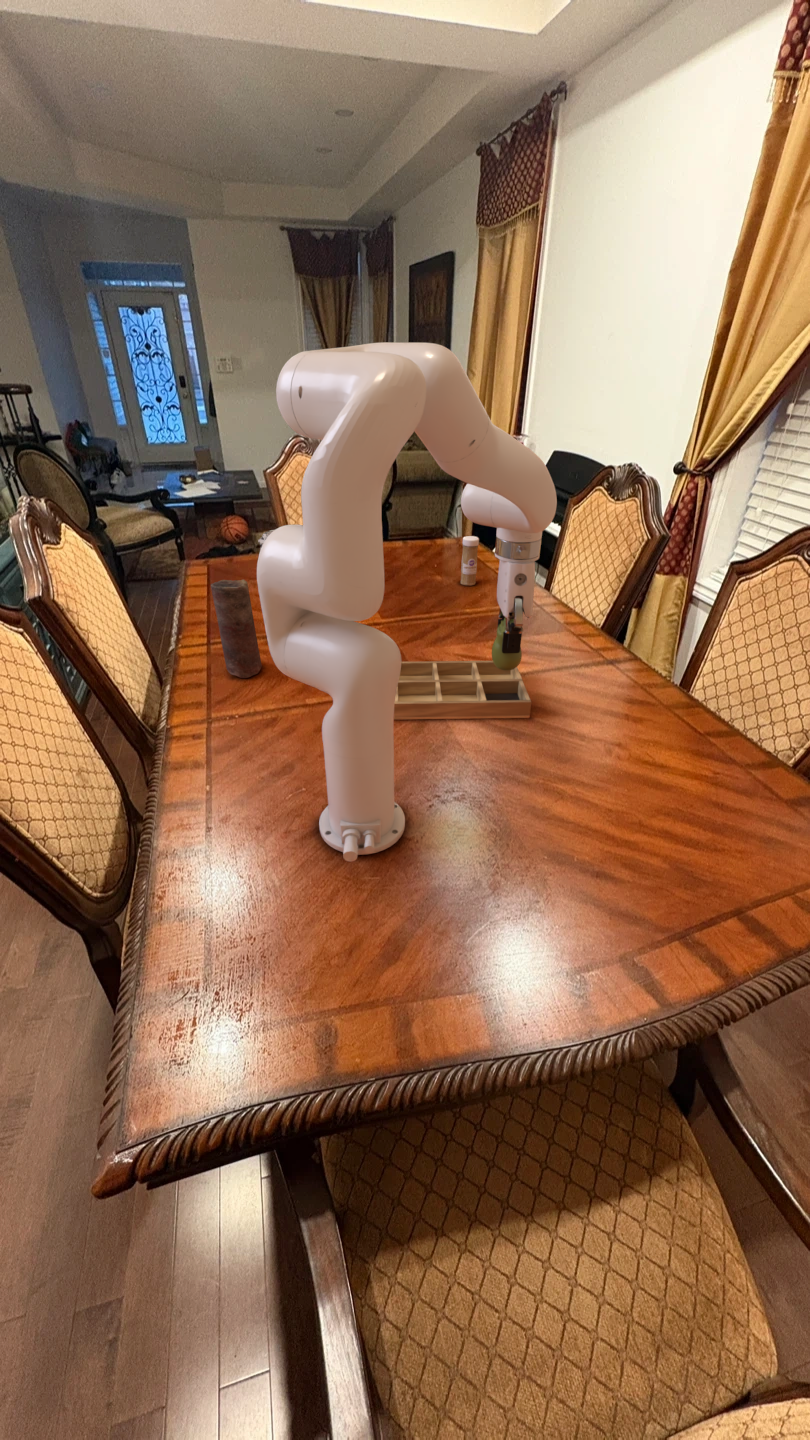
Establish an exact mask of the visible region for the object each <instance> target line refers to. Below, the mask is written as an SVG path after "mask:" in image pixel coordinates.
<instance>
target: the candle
mask: <svg viewBox="0 0 810 1440" xmlns="http://www.w3.org/2000/svg"><path fill="white" fill-rule="evenodd" d="M210 589H211V594H212V599H213V604H214V609H215V615H216V619H217V624H218V631H219V636H220V641H221V642H220V643H221V646H222V652H223V657H224V662H225V667H226V670H227V672H228V673H229V674H230V675H233V676H235V677H238V678H240V679H248V678H250V677H253V676H255V675H258V674H259V673H260V670H262V666H263V665H262V659H261V654H260V653H261V652H260V649H259V642H258V638H257V632H256V626H255V620H254V615H253V608H252V607H253V606H252V601H251V596H250V589H249V584H248V581H247V580H245V579H241V580H240V579H239V580H238V579H235V580H232V579H231V580H230V579H221V580H218V581H215V582H213V583H210Z"/></svg>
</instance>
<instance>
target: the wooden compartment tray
mask: <svg viewBox="0 0 810 1440" xmlns="http://www.w3.org/2000/svg"><path fill="white" fill-rule="evenodd" d="M531 708H532V700H531V698H530V695H529V693H528V690H527V688H526V686H525V683H524V680H523V678H522V675H521V673H520V670H519V668H518V666H517V667H516V668H515V669H513V670H509V671H504V670H501V669H499V668H497V667H496V666H495V664H494V663H493V660H435V661H433V660H432V661H428V660H427V661H423V660H422V661H401V671H400V676H399V681H398V686H397V691H396V696H395V704H394V720H396V721H398V720H401V721H402V720H465V719H469V720H471V719H472V720H473V719H529V718H530V717H531V716H530V715H531Z"/></svg>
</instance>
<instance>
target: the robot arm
mask: <svg viewBox="0 0 810 1440" xmlns="http://www.w3.org/2000/svg"><path fill="white" fill-rule="evenodd" d="M275 387H276V389H275V396H276V404H277V407H278V408H277V409H278V411H279V413H280V416H281V417H282V419H283V420H284V422H285V424H286V425H287V426H288V427H289V428H290V429H291V430H292V431H293V432H295V433H296V434H298V435H300V436H302V437H305V438H308V439H312V440H321V441H320V442H319V445H318V446H317V447H316V449H315V451H314V452H313V454H312V456H311V457H310V459H309V462H308V463H307V466H306V468H305V471H304V474H303V477H302V481H301V488H300V489H301V490H300V502H301V514H302V524H286V525H282V526H279V527H278V528H275V529H273V530H274V531H273V532H272V533H271V534H270V535H269V536H268V537H267V538H266V540H265V541H264V543H263V545H262V547H261V549H260V550H259V554H258V558H257V563H256V583H257V591H258V595H259V602H260V607H261V612H262V613H261V614H262V618H263V624H264V630H265V635H266V639H267V645H268V650H269V653H270V656H271V659H272V661H273V663H274V665H275V667H276V668H277V669H278V670H279V672H280V673H282V674H283V675H285V676H286V677H289V678H291V679H292V680H295V681H298V682H300V683H302V684H305V685H308V686H309V687H313V688H315V689H317V690H319V691H321V692H323V693H326V694H327V695H329V696H330V697H331V698H332V705H331V706H330V708H329V709H328V710H327V712H326V713H325V714H324V716H323V718H322V725H321V739H322V743H323V746H322V747H323V757H324V759H323V760H324V770H325V781H326V782H325V783H326V794H327V804H328V805H326V807H325V808H323V811H322V812H321V813H320V816H319V822H318V828H319V833H320V836H321V838H322V840H323V841H324V842H325V843H326V844H327V845H328V846H329V847H331V848H332V849H334V850H336V851H338V852H340V853H342V859H343V860H344V861H346V862H351V863H353V862H355V861H356V860H357V859H358V856H360V855H362V856H364V855H372V854H376V853H379V852H382V851H385V850H387V849H388V848H391V847H392V846H394V844H396V843H397V842H398V841H399V839H401V837H402V835H403V834H404V831H405V828H406V816H405V813H404V810H403V809H402V807H401V806H400V805H399V804H398V802H396V801H395V735H394V732H395V731H394V729H395V727H394V723H395V721H394V704H395V696H396V691H397V686H398V681H399V676H400V671H401V662H402V654H401V650H400V648H399V646H398V644H397V643H396V642H395V640H394V639H393V638H392V637H391V636H389V635H388V634H386V633H385V632H383V631H381V630H379V629H378V628H375V627H373V626H370V625H367V624H364V623H361V621H365V620H369V619H370V618H372V617H374V616H375V615H376V614H377V612H378V611H379V610H380V608H381V607H382V604H383V602H384V597H385V596H384V595H385V587H386V585H385V580H386V579H385V558H384V539H383V538H384V535H383V521H382V515H383V514H382V508H383V507H382V498H383V490H384V486H385V483H386V480H387V477H388V474H389V472H390V470H391V468H392V466H393V464H394V463H395V461H396V459H397V457H398V455H399V454H400V452H401V451H402V449H403V448H404V446H405V444H407V442H408V440H409V439H410V438H411V437H412V435H413V434H414V433H415V435H416V436H417V437H418V438H419V439H420V442H422V444H423V445H424V446H425V448H426V449H427V451H428V452H429V454H430V455H431V456H432V458H433V459H434V461H435V462H436V464H437V466H439V468H440V470H442V471H443V472H444V473H446V474H447V475H449V476H451V477H453V478H455V479H457V480H460V481H461V482H464V483H465V486H464V488H463V490H462V492H461V499H460V507H461V510H462V513H463V514H464V517H466V519H468V520H469V521H471V522H472V523H474V524H476V525H480V526H485V527H491V528H496V534H495V535H496V536H495V547H494V557H495V558H496V559H498V560H499V561H498V562H499V563H498V573H497V581H496V582H497V583H496V602H497V604H498V606H499V611H498V618H497V627H496V628H497V629H498V626H499V624H500V623H501V620H502V621H503V620H504V618H505V617H506V628H505V632H503V642H502V653H519V652H520V646H521V643H522V636H523V631H522V628H523V626H524V617H525V618H527V619H530V618H532V617H533V609H534V599H535V598H534V597H535V583H536V582H535V581H536V578H535V577H536V562H535V561H538V560H540V556H541V555H540V554H541V545H542V538H543V537H542V536H543V532H544V531H545V530H546V529H547V528H548V527H549V526H550V525H551V523H552V522H553V520H554V518H555V516H556V512H557V505H558V499H557V491H556V486H555V484H554V481H553V478H552V476H551V474H550V471H549V470H548V467H547V466H546V464H545V463H544V461H543V460H542V459H541V457H540V456H539V455H537V453H536V452H534V451H532V450H531V449H530V448H529V447H527V446H526V445H525V444H523V443H521V441H519V440H518V439H516V438H515V437H513V435H511V434H509V433H508V432H506V431H505V430H504V429H502V428H500V427H498V426H497V425H496V424H494V423H493V422H492V420H491V418H490V416H489V414H488V412H487V410H486V408H485V407H484V405H483V403H482V401H481V399H480V397H479V395H478V394H477V391H476V389H475V388H474V386H473V384H472V382H471V380H470V378H469V376H468V374H467V372H466V371H465V369H464V366H463V365H462V363H461V361H460V359H459V358H458V357H457V355H456V354H455V353H454V352H453V351H452V350H451V349H449V348H447V347H446V346H444V345H441V344H438V343H433V342H393V341H391V342H383V341H382V342H370V343H363V344H357V345H350V346H349V345H348V346H342V347H332V348H323V349H312V350H311V349H310V350H304V351H300V352H298V353H296V354H294V355H293V356H291V357H290V358H289V359H288V360H286V362H285V363H284V365H283V366H282V367H281V370H280V372H279V374H278V377H277V381H276V386H275ZM510 620H514V622H513V623H511V624H510ZM497 629H496V630H497Z"/></svg>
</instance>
